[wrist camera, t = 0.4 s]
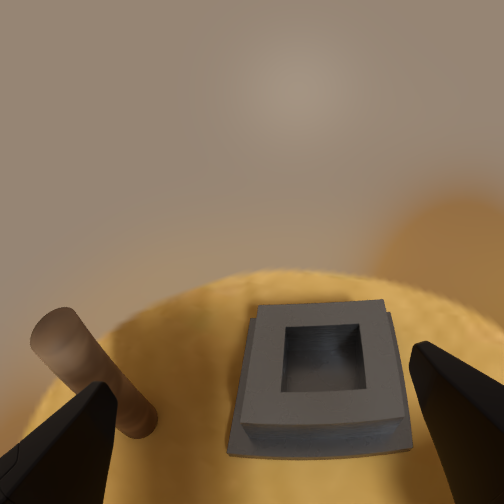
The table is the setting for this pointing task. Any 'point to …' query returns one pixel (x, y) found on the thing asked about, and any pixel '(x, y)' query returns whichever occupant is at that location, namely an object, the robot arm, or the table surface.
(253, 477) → the table surface
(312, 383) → the socket
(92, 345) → the peg
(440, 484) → the table surface
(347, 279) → the table surface
